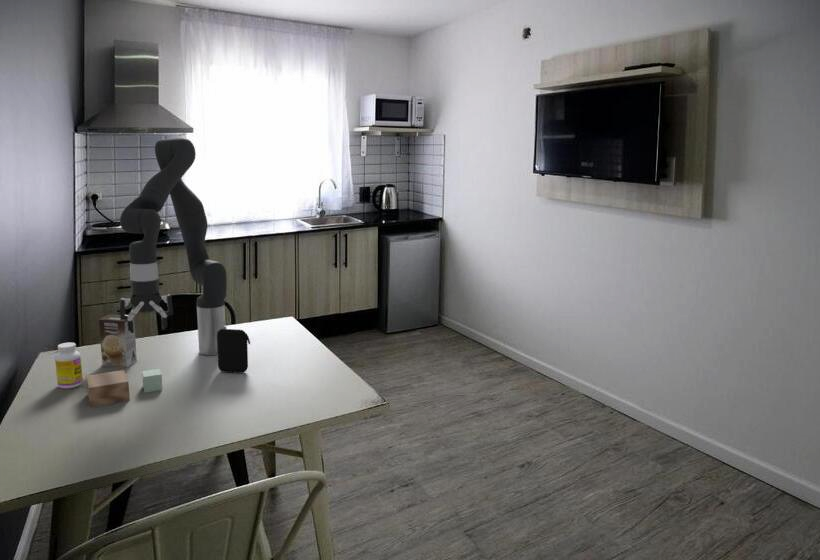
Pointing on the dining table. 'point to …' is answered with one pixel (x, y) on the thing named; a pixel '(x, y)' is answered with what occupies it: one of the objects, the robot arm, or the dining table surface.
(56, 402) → the dining table surface
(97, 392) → the walnut block
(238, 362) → the carrying case or bag
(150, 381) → the sage cube
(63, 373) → the supplement bottle
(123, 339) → the coffee box
